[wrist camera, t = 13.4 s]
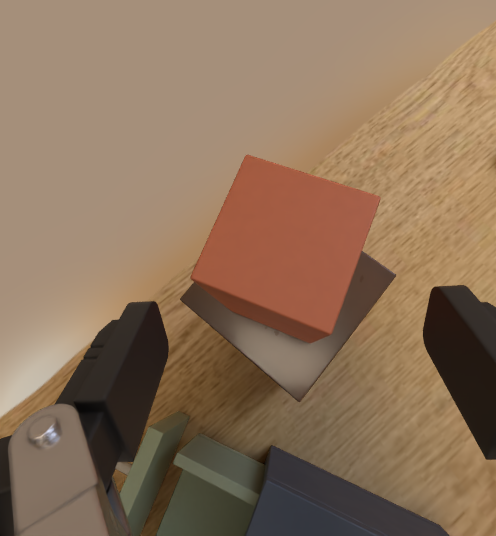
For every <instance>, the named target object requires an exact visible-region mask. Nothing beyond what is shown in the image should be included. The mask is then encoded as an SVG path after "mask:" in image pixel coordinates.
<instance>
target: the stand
mask: <svg viewBox="0 0 496 536" xmlns="http://www.w3.org/2000/svg"><path fill="white" fill-rule="evenodd" d="M395 277H396V274H394V273H393V272H391V271H390V270H389V269H387V268H386V267H384V266H383V265H381V264H380V263H379V262H377V261H376V260H374V259H373V258H371V257H370V256H369V255H367V254H366V253H364V252H363V251H362V252H361V255H360V257H359V260H358V263H357V266H356V269H355V271H354V274H353V277H352V280H351V282H350V285H349V288H348V291H347V293H346V296H345V299H344V302H343V305H342V307H341V310H340V313H339V316H338V318H337V321H336V324H335V327H334V330H333V332H332V334H331V335H329V336H327V337H325V338H322V339H320V340H318V341H315V342H313V343H308V342H305V341H303V340H300V339H298V338H295V337H293V336H290V335H288V334H286V333H283V332H281V331H278V330H276V329H273V328H271V327H269V326H266V325H264V324H261V323H259V322H256V321H254V320H252V319H249V318H247V317H244V316H242V315H239V314H237V313H235V312H232V311H231V310H229V309H228V308H227V307H225V306H224V305H223V304H222V303H220V302H219V301H218V300H217V299H215V298H214V297H213V296H212V295H210V294H209V293H208V292H207V291H205V290H204V289H203V288H201V287H200V286H199V285H198V284H196V283H195V282H194V283H193V284H192V285H191V287H190V288H189V289H188V290H187V291H186V292H185V294H184V295H183V296H182V297H181V298H180V300H181V301H182V302H183V303H184V304H186V305H187V306H188V307H189V308H190V309H191V310H192V311H194V312H195V313H196V314H197V315H198V316H199V317H201V318H202V319H203V320H204V321H205V322H206V323H208V324H209V325H210V326H211V327H212V328H213V329H215V330H216V331H217V332H218V333H219V334H220V335H221V336H223V337H224V338H225V339H226V340H227V341H228V342H230V343H231V344H232V345H233V346H234V347H235V348H237V349H238V350H239V351H240V352H241V353H242V354H244V355H245V356H246V357H247V358H248V359H249V360H250V361H252V362H253V363H254V364H255V365H256V366H257V367H259V368H260V369H261V370H262V371H263V372H264V373H266V374H267V375H268V376H269V377H270V378H271V379H273V380H274V381H275V382H276V383H277V384H278V385H279V386H281V387H282V388H283V389H284V390H285V391H286V392H288V393H289V394H290V395H291V396H292V397H293V398H295V399H296V400H297V401H298V402H301V400H302V399H303V398H304V396H305V395H306V394H307V392H308V391H309V390H310V389H311V387H312V386H313V385H314V383H315V382H316V381H317V379H318V378H319V377H320V375H321V374H322V373H323V371H324V370H325V369H326V368H327V366H328V365H329V364H330V362H331V361H332V360H333V358H334V357H335V356H336V354H337V353H338V352H339V350H340V349H341V348H342V346H343V345H344V344H345V343H346V341H347V340H348V339H349V337H350V336H351V335H352V333H353V332H354V331H355V329H356V328H357V327H358V325H359V324H360V323H361V322H362V320H363V319H364V318H365V316H366V315H367V314H368V312H369V311H370V310H371V308H372V307H373V306H374V304H375V303H376V302H377V301H378V299H379V298H380V297H381V295H382V294H383V293H384V291H385V290H386V289H387V287H388V286H389V285H390V283H391V282H392V281H393V280H394V278H395Z"/></svg>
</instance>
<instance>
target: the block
mask: <svg viewBox="0 0 496 536" xmlns="http://www.w3.org/2000/svg"><path fill="white" fill-rule="evenodd" d="M379 202H380V197H379V196H377V195H374V194H370V193H367V192H364V191H361V190H358V189H355V188H351V187H348V186H345V185H342V184H339V183H336V182H333V181H329V180H326V179H323V178H320V177H317V176H314V175H310V174H307V173H304V172H301V171H298V170H294V169H291V168H288V167H285V166H282V165H279V164H276V163H272V162H269V161H266V160H263V159H260V158H257V157H253V156H250V155H246V156H245V158H244V160H243V162H242V164H241V167H240V169H239V171H238V173H237V176H236V178H235V180H234V182H233V185H232V186H231V189H230V191H229V193H228V195H227V197H226V200H225V202H224V204H223V206H222V209H221V211H220V213H219V215H218V217H217V220H216V222H215V224H214V226H213V229H212V231H211V233H210V235H209V238H208V240H207V242H206V244H205V246H204V248H203V250H202V253H201V255H200V257H199V259H198V261H197V264H196V266H195V268H194V270H193V272H192V275H191V278H190V279H191V280H193V281H194V282H195V283H196V284H198V285H199V286H200V287H201V288H203V289H204V290H205V291H207V292H208V293H209V294H210V295H212V296H213V297H214V298H215V299H217V300H218V301H219V302H220V303H222V304H223V305H224V306H225V307H227V308H228V309H229V310H231V311H232V312H235V313H237V314H239V315H242V316H244V317H247V318H249V319H252V320H254V321H256V322H259V323H261V324H264V325H266V326H269V327H271V328H273V329H276V330H278V331H281V332H283V333H286V334H288V335H290V336H293V337H295V338H298V339H300V340H303V341H305V342H308V343H313V342H315V341H318V340H320V339H322V338H325V337H327V336H329V335H331V334H332V332H333V330H334V327H335V324H336V321H337V318H338V316H339V313H340V310H341V307H342V305H343V302H344V299H345V296H346V293H347V291H348V288H349V285H350V282H351V280H352V277H353V274H354V271H355V269H356V266H357V263H358V260H359V257H360V255H361V252H362V249H363V246H364V244H365V241H366V238H367V235H368V232H369V230H370V227H371V224H372V221H373V219H374V216H375V213H376V210H377V207H378V205H379Z"/></svg>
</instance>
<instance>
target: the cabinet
mask: <svg viewBox="0 0 496 536" xmlns="http://www.w3.org/2000/svg"><path fill="white" fill-rule="evenodd" d="M264 465H266V469H265V474H264V480H263V485H262V489H261V492H260V495H259V498H258V500H257V503H256V506H255V508H254V511H253V514H252V517H251V519H250V522H249V525H248V528H247V530H246V533H245V536H449V535H448V534H447V532H446V531H444V529H443V528H442V527H441V526H440V525H438V524H436V523H434V522H431V521H429V520H427V519H425V518H423V517H421V516H419V515H417V514H415V513H413V512H411V511H408V510H406V509H404V508H402V507H400V506H398V505H396V504H394V503H392V502H390V501H388V500H385V499H383V498H381V497H379V496H377V495H375V494H373V493H371V492H369V491H367V490H365V489H362V488H360V487H358V486H356V485H354V484H352V483H350V482H348V481H346V480H344V479H342V478H339V477H337V476H335V475H333V474H331V473H329V472H327V471H325V470H323V469H321V468H319V467H317V466H314V465H312V464H310V463H308V462H306V461H304V460H302V459H300V458H298V457H296V456H294V455H291V454H289V453H287V452H285V451H283V450H281V449H279V448H277V447H275V446H273V445H272V446H271V448H270V450H269V453H268V456H267V458H266V461H265V464H264Z"/></svg>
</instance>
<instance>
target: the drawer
mask: <svg viewBox="0 0 496 536" xmlns="http://www.w3.org/2000/svg"><path fill="white" fill-rule="evenodd" d="M189 418H190V416H188V415H186V414H184V413H182V412H180V411H178V412H176V413H174V414H172V415H170V416H168V417H166V418H164V419H163V420H161V421H159V422H157V423H155V424H153V425H151V426H149V428H148V430H147V432H146V435H145V437H144V439H143V441H142V444H141V446H140V448H139V451H138V453H137V455H136V457H135V460H134V462H133V464H130V463H128V462H117V465H116V468H115V469H117V470H119V471H120V472H122V473H124V474H126V475H128V476H127V478H126V480H125V482H124V485H123V487H122V489H121V491H120V494H119V495H120V498H121V501H122V504H123V507H124V510H125V513H126V515H127V518H128V521H129V524H130V527H131V530H132V533H133V536H140V534H141V532H142V529H143V527H144V525H145V522H146V520H147V518H148V515H149V513H150V510H151V508H152V506H153V503H154V501H155V498H156V496H157V494H158V491H159V489H160V487H161V484H162V482H163V479H164V477H165V475H166V472H167V470H168V468H169V465H170V463H171V460H172V458H173V456H174V453H175V451H176V449H177V446H178V444H179V441H180V439H181V437H182V434H183V432H184V430H185V427H186V425H187V422H188V420H189ZM173 464H174V465H176V466H178V467H180V468H182V469H183V470H182V473H181V475H180V477H179V480H178V482H177V485H176V487H175V490H174V492H173V494H172V497H171V499H170V502H169V504H168V507H167V509H166V511H165V514H164V516H163V519H162V521H161V524H160V526H159V528H158V531H157V533H156V536H245V533H246V530H247V528H248V525H249V522H250V519H251V517H252V514H253V511H254V508H255V506H256V503H257V500H258V498H259V495H260V492H261V489H262V485H263V480H264V474H265V469H266V465H264V464H262V463H260V462H258V461H256V460H254V459H252V458H250V457H248V456H246V455H244V454H242V453H240V452H238V451H236V450H234V449H231V448H229V447H227V446H225V445H223V444H221V443H219V442H217V441H215V440H213V439H211V438H209V437H207V436H205V435H203V434H201V433H199V434H198V435H196V436H195V437H194V438H193V439H192V440H191V441H190V442H189V443H188V444H186V445H185V446H184V447H183V448H182V449H181V450H180V451H179V452H178V453H177V454H176V457H175V459H174V462H173Z"/></svg>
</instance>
